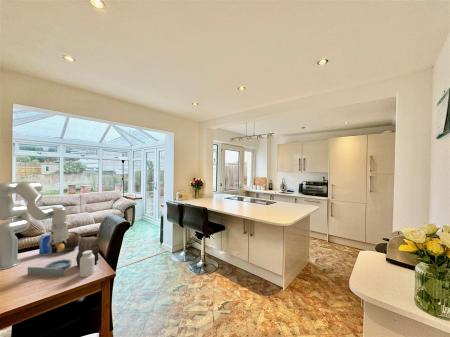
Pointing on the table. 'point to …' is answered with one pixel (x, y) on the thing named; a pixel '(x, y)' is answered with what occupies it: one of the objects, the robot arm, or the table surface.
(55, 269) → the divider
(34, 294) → the table surface
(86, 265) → the pill bottle
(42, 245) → the beer can
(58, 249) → the ball
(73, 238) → the wooden sphere
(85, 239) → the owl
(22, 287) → the table surface
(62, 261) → the bowl
